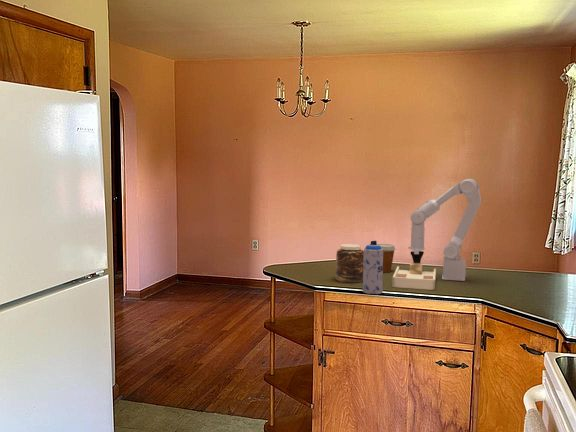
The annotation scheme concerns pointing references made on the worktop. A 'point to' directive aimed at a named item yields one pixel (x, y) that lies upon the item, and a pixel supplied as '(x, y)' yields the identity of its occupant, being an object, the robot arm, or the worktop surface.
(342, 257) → the jar
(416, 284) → the trap box
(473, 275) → the worktop surface
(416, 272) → the maple block
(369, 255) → the aerosol can
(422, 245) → the robot arm
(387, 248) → the disposable coffee cup
